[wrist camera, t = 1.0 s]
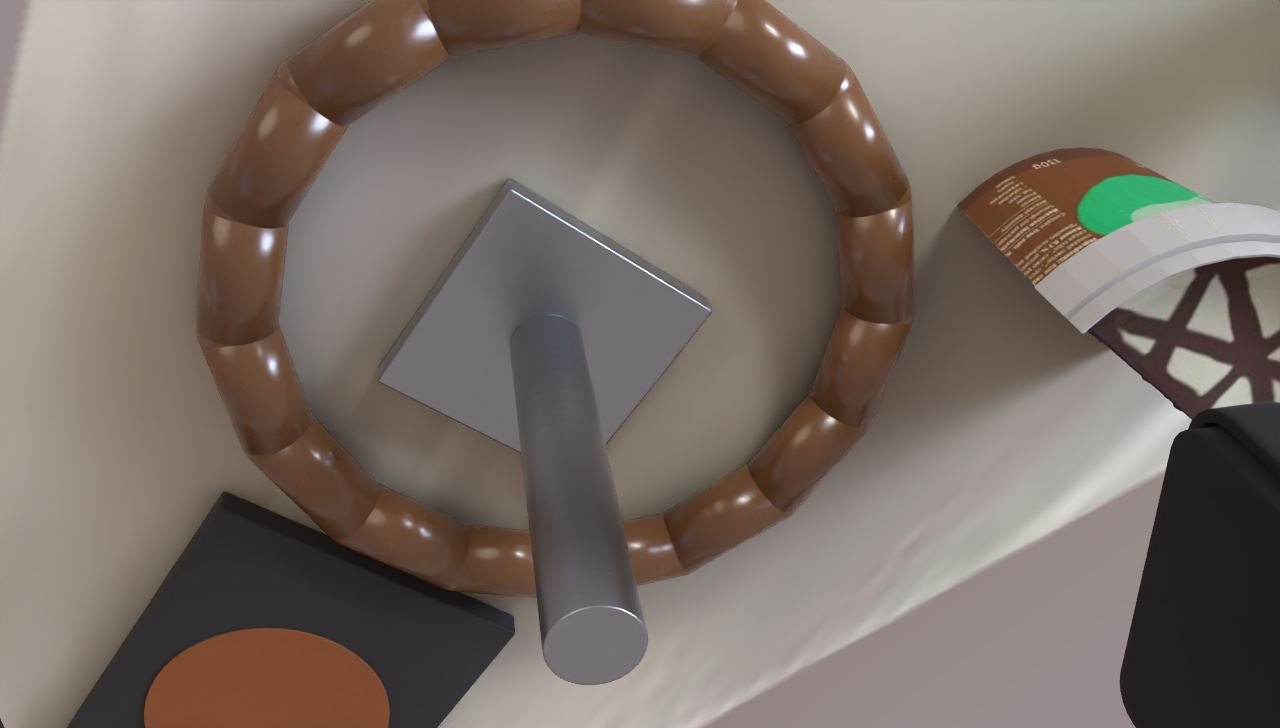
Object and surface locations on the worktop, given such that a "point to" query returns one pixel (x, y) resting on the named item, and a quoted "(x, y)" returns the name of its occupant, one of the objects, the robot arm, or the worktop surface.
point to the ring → (495, 17)
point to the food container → (1146, 270)
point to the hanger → (554, 399)
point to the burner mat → (292, 637)
